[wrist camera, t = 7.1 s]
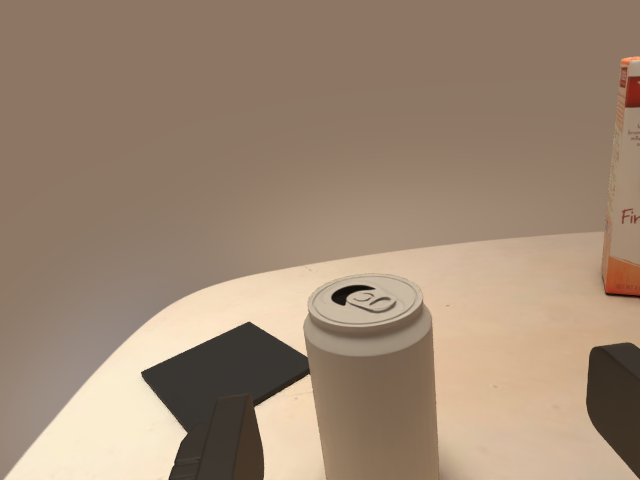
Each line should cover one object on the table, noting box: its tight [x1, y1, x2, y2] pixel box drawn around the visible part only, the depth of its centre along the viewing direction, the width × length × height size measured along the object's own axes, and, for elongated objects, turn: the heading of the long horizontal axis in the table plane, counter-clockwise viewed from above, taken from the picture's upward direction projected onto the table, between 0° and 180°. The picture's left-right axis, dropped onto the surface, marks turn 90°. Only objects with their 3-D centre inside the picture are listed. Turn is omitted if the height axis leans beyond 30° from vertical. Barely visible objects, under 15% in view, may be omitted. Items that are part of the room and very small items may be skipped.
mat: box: [141, 322, 310, 433], centre depth 38 cm, size 11×11×1 cm
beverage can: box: [303, 274, 439, 480], centre depth 24 cm, size 6×6×12 cm
